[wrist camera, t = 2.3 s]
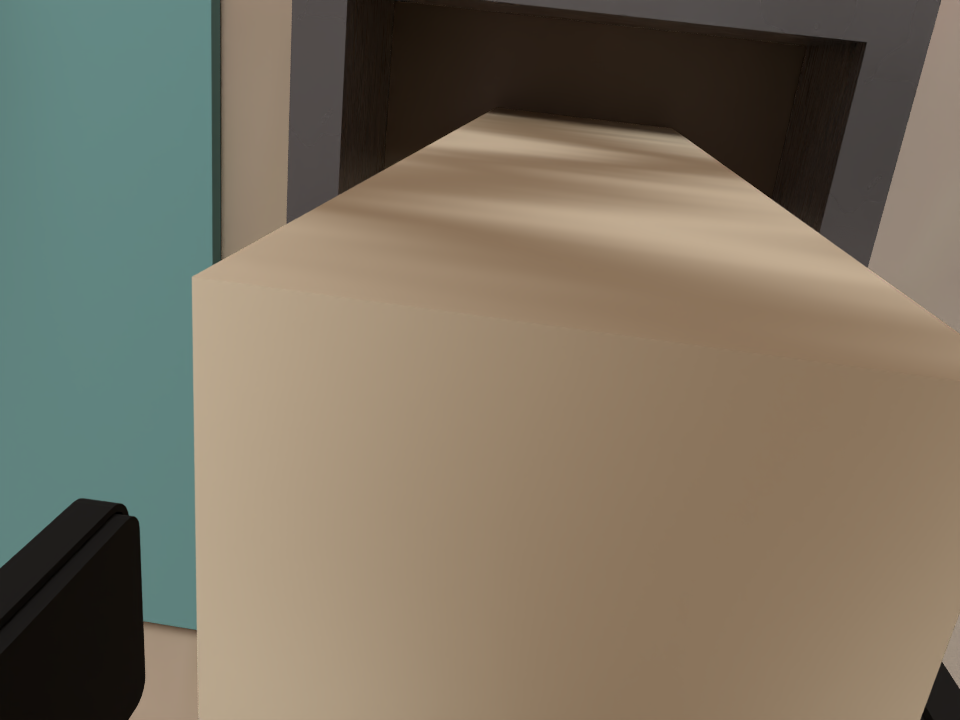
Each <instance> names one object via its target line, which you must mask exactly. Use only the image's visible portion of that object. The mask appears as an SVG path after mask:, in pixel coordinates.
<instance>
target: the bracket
mask: <svg viewBox="0 0 960 720" xmlns="http://www.w3.org/2000/svg"><path fill="white" fill-rule="evenodd" d="M395 1H401V2H410V3H419V4H428V5H437V6H446V7H455V8H464V9H473V10H482V11H491V12H500V13H509V14H518V15H527V16H536V17H545V18H554V19H564V20H573V21H582V22H591V23H600V24H609V25H618V26H627V27H636V28H645V29H654V30H663V31H672V32H681V33H690V34H699V35H708V36H717V37H726V38H735V39H745V40H754V41H763V42H772V43H781V44H790V45H799V46H807V47H806V51H805V56H804V60H803V65H802V69H801V73H800V78H799V82H798V87H797V91H796V95H795V100H794V104H793V109H792V113H791V117H790V122H789V126H788V130H787V135H786V139H785V144H784V148H783V152H782V157H781V161H780V166H779V170H778V174H777V179H776V183H775V188H774V192H773V196H772V200H773V201H774V202H776V203H777V204H779V205H780V206H781V207H783V208H784V209H786V210H787V211H788V212H790V213H791V214H793V215H794V216H795V217H797V218H798V219H800V220H801V221H802V222H804V223H805V224H807V225H808V226H809V227H811V228H812V229H814V230H815V231H816V232H818V233H819V234H821V235H822V236H823V237H825V238H826V239H828V240H829V241H830V242H832V243H833V244H835V245H836V246H837V247H839V248H840V249H842V250H843V251H844V252H846V253H847V254H849V255H850V256H851V257H853V258H854V259H856V260H857V261H858V262H860V263H861V264H863V265H864V266H865V267H867V268H868V264H869V260H870V257H871V253H872V250H873V246H874V242H875V239H876V235H877V231H878V228H879V224H880V221H881V217H882V213H883V210H884V206H885V202H886V199H887V195H888V191H889V188H890V184H891V181H892V177H893V173H894V170H895V166H896V162H897V159H898V155H899V152H900V148H901V144H902V141H903V137H904V133H905V130H906V126H907V122H908V119H909V115H910V112H911V108H912V104H913V101H914V97H915V93H916V90H917V86H918V83H919V79H920V75H921V72H922V68H923V64H924V61H925V57H926V53H927V50H928V46H929V43H930V39H931V35H932V32H933V28H934V24H935V21H936V17H937V14H938V10H939V6H940V3H941V0H292V35H291V73H290V112H289V150H288V189H287V224H288V223H290V222H291V221H293V220H295V219H297V218H299V217H300V216H302V215H304V214H306V213H308V212H309V211H311V210H313V209H315V208H317V207H318V206H320V205H322V204H324V203H326V202H327V201H329V200H331V199H333V198H335V197H336V196H338V195H340V194H342V193H344V192H345V191H347V190H349V189H351V188H352V187H354V186H356V185H358V184H360V183H361V182H363V181H365V180H367V179H369V178H370V177H372V176H374V175H376V174H378V173H379V172H381V171H383V170H384V157H385V142H386V126H387V111H388V96H389V80H390V65H391V50H392V34H393V19H394V4H395Z"/></svg>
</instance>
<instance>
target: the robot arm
mask: <svg viewBox="0 0 960 720" xmlns="http://www.w3.org/2000/svg"><path fill="white" fill-rule="evenodd" d="M144 684H145V656H144V628H143V601H142V574H141V546H140V526H139V521H138V519H137V518H136V517H135V516H129V514H128V510H127V508H126V506H125V505H123V504H122V503H115V502H107V501H100V500H93V499H86V498H79V499H77V500H76V501H74V502H73V503H72V504H71V505H70V506H68V507H67V508H66V509H65V510H64V511H63V512H62V513H61V514H60V515H58V516H57V517H56V518H55V519H54V520H53V521H52V522H51V523H50V524H48V525H47V526H46V527H45V528H44V529H43V530H42V531H41V532H40V533H39V534H37V535H36V536H35V537H34V538H33V539H32V540H31V541H30V542H29V543H27V544H26V545H25V546H24V547H23V548H22V549H21V550H20V551H19V552H18V553H16V554H15V555H14V556H13V557H12V558H11V559H10V560H9V561H8V562H6V563H5V564H4V565H3V566H2V567H1V568H0V720H128V719H129V718H130V716H131V715H132V713H133V712H134V710H135V709H136V707H137V705H138V703H139V701H140V699H141V696H142V693H143V689H144ZM920 720H960V689H959V687H958V686H957V684H956V683H955V681H954V680H953V678H952V676H951V675H950V673H949V672H948V670H947V669H946V667H945V666H944V664H943V663H942V662H941V665H940V668H939V670H938V673H937V676H936V678H935V681H934V684H933V686H932V689H931V692H930V695H929V697H928V700H927V703H926V705H925V708H924V711H923V713H922V716H921V719H920Z"/></svg>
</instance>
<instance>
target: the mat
mask: <svg viewBox="0 0 960 720" xmlns="http://www.w3.org/2000/svg"><path fill="white" fill-rule="evenodd" d="M219 261H221V173H220V0H0V568H1V567H2V566H3V565H4V564H5V563H6V562H8V561H9V560H10V559H11V558H12V557H13V556H14V555H15V554H16V553H18V552H19V551H20V550H21V549H22V548H23V547H24V546H25V545H26V544H27V543H29V542H30V541H31V540H32V539H33V538H34V537H35V536H36V535H37V534H39V533H40V532H41V531H42V530H43V529H44V528H45V527H46V526H47V525H48V524H50V523H51V522H52V521H53V520H54V519H55V518H56V517H57V516H58V515H60V514H61V513H62V512H63V511H64V510H65V509H66V508H67V507H68V506H70V505H71V504H72V503H73V502H74V501H76V500H77V499H79V498H86V499H93V500H100V501H107V502H115V503H122V504H123V505H125V506H126V508H127V510H128V514H129V516H135V517H136V518H137V519H138V521H139V526H140V546H141V574H142V601H143V621H146V622H152V623H158V624H164V625H170V626H176V627H182V628H188V629H194V630H197V603H196V534H195V464H194V395H193V326H192V276H194V275H196V274H198V273H200V272H201V271H203V270H205V269H207V268H209V267H210V266H212V265H214V264H216V263H218V262H219Z"/></svg>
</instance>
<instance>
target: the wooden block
mask: <svg viewBox="0 0 960 720" xmlns="http://www.w3.org/2000/svg"><path fill="white" fill-rule="evenodd" d="M192 326H193V395H194V464H195V534H196V603H197V672H198V720H920V719H921V716H922V713H923V711H924V708H925V705H926V703H927V700H928V697H929V695H930V692H931V689H932V686H933V684H934V681H935V678H936V676H937V673H938V670H939V668H940V665H941V662H942V659H943V657H944V654H945V651H946V649H947V646H948V643H949V640H950V638H951V635H952V632H953V630H954V627H955V624H956V622H957V619H958V616H959V613H960V334H959V333H958V332H956V331H955V330H954V329H952V328H951V327H949V326H948V325H947V324H945V323H944V322H942V321H941V320H940V319H938V318H937V317H935V316H934V315H933V314H931V313H930V312H928V311H927V310H926V309H924V308H923V307H921V306H920V305H919V304H917V303H916V302H914V301H913V300H912V299H910V298H909V297H907V296H906V295H905V294H903V293H902V292H900V291H899V290H898V289H896V288H895V287H893V286H892V285H891V284H889V283H888V282H886V281H885V280H884V279H882V278H881V277H879V276H878V275H877V274H875V273H874V272H872V271H871V270H870V269H868V268H867V267H865V266H864V265H863V264H861V263H860V262H858V261H857V260H856V259H854V258H853V257H851V256H850V255H849V254H847V253H846V252H844V251H843V250H842V249H840V248H839V247H837V246H836V245H835V244H833V243H832V242H830V241H829V240H828V239H826V238H825V237H823V236H822V235H821V234H819V233H818V232H816V231H815V230H814V229H812V228H811V227H809V226H808V225H807V224H805V223H804V222H802V221H801V220H800V219H798V218H797V217H795V216H794V215H793V214H791V213H790V212H788V211H787V210H786V209H784V208H783V207H781V206H780V205H779V204H777V203H776V202H774V201H773V200H772V199H770V198H769V197H767V196H766V195H765V194H763V193H762V192H760V191H759V190H758V189H756V188H755V187H753V186H752V185H751V184H749V183H748V182H746V181H745V180H744V179H742V178H741V177H740V176H738V175H737V174H735V173H734V172H733V171H731V170H730V169H728V168H727V167H726V166H724V165H723V164H721V163H720V162H719V161H717V160H716V159H714V158H713V157H712V156H710V155H709V154H707V153H706V152H705V151H703V150H702V149H700V148H699V147H698V146H696V145H695V144H693V143H692V142H691V141H689V140H688V139H686V138H685V137H684V136H682V135H681V134H679V133H678V132H677V131H675V130H674V129H672V128H665V127H657V126H648V125H640V124H632V123H623V122H615V121H606V120H598V119H589V118H581V117H572V116H564V115H555V114H547V113H539V112H530V111H522V110H513V109H505V108H495V109H493V110H491V111H489V112H487V113H486V114H484V115H482V116H480V117H478V118H477V119H475V120H473V121H471V122H469V123H468V124H466V125H464V126H462V127H460V128H459V129H457V130H455V131H453V132H451V133H450V134H448V135H446V136H444V137H442V138H441V139H439V140H437V141H435V142H433V143H432V144H430V145H428V146H426V147H424V148H423V149H421V150H419V151H417V152H415V153H414V154H412V155H410V156H408V157H406V158H405V159H403V160H401V161H399V162H397V163H396V164H394V165H392V166H390V167H388V168H387V169H385V170H383V171H381V172H379V173H378V174H376V175H374V176H372V177H370V178H369V179H367V180H365V181H363V182H361V183H360V184H358V185H356V186H354V187H352V188H351V189H349V190H347V191H345V192H344V193H342V194H340V195H338V196H336V197H335V198H333V199H331V200H329V201H327V202H326V203H324V204H322V205H320V206H318V207H317V208H315V209H313V210H311V211H309V212H308V213H306V214H304V215H302V216H300V217H299V218H297V219H295V220H293V221H291V222H290V223H288V224H286V225H284V226H282V227H281V228H279V229H277V230H275V231H273V232H272V233H270V234H268V235H266V236H264V237H263V238H261V239H259V240H257V241H255V242H254V243H252V244H250V245H248V246H246V247H245V248H243V249H241V250H239V251H237V252H236V253H234V254H232V255H230V256H228V257H227V258H225V259H223V260H221V261H219V262H218V263H216V264H214V265H212V266H210V267H209V268H207V269H205V270H203V271H201V272H200V273H198V274H196V275H194V276H192Z"/></svg>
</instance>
